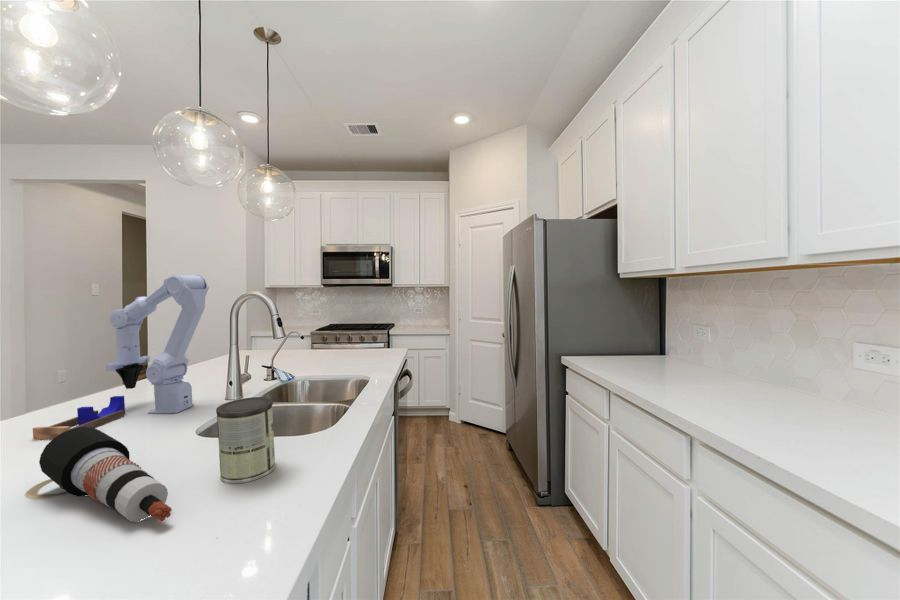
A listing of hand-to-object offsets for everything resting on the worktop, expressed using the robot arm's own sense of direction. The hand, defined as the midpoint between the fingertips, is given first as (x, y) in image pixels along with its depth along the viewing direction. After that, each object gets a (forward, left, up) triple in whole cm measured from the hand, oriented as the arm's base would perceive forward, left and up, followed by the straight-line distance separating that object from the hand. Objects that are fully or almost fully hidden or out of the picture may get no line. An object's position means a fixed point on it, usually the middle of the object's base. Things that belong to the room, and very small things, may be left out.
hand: (130, 388), depth 125 cm
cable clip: (-1, +12, -7) cm, 14 cm away
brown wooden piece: (0, +16, -7) cm, 17 cm away
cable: (-45, +55, -7) cm, 71 cm away
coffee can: (-63, +44, -7) cm, 77 cm away
